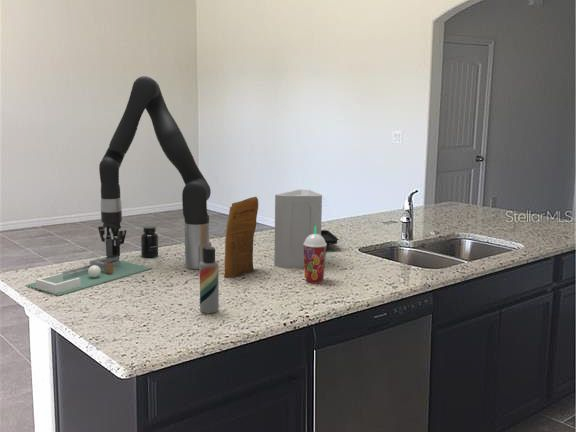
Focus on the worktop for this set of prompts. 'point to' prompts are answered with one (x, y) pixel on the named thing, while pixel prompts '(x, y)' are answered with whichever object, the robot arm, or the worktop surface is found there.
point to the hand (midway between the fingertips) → (113, 253)
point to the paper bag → (295, 225)
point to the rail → (81, 271)
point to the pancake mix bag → (240, 237)
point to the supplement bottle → (149, 242)
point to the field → (102, 277)
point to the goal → (57, 283)
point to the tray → (329, 237)
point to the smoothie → (314, 257)
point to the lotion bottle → (209, 282)
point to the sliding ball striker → (107, 258)
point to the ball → (94, 271)
